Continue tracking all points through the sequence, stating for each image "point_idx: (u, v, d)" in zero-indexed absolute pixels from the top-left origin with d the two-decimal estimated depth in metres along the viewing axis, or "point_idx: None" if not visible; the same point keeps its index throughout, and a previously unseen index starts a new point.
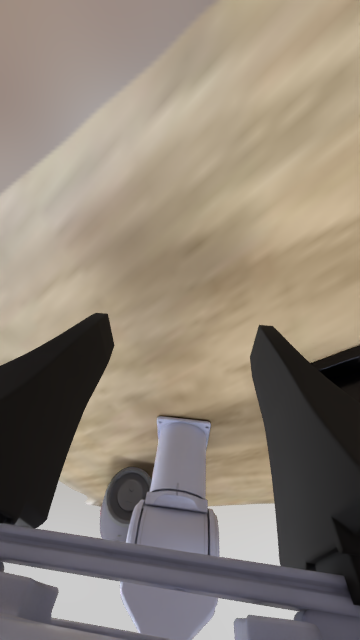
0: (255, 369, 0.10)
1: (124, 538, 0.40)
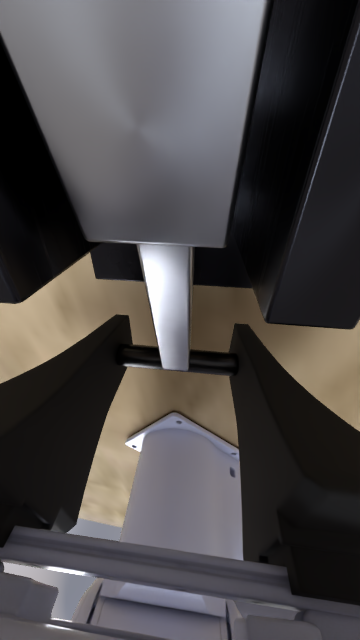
0: None
1: None
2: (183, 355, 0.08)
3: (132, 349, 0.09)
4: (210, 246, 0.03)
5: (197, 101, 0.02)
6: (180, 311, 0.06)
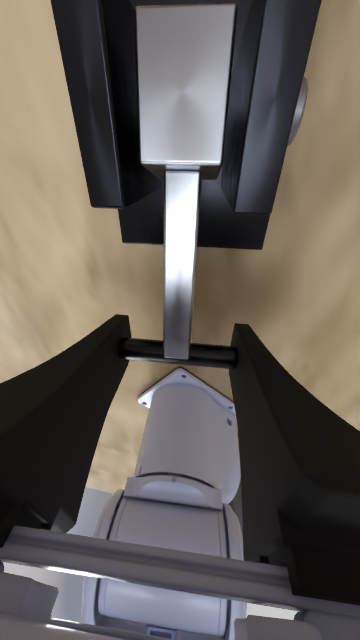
0: None
1: None
2: (186, 328, 0.09)
3: (135, 339, 0.10)
4: (212, 163, 0.06)
5: (207, 81, 0.05)
6: (187, 258, 0.07)
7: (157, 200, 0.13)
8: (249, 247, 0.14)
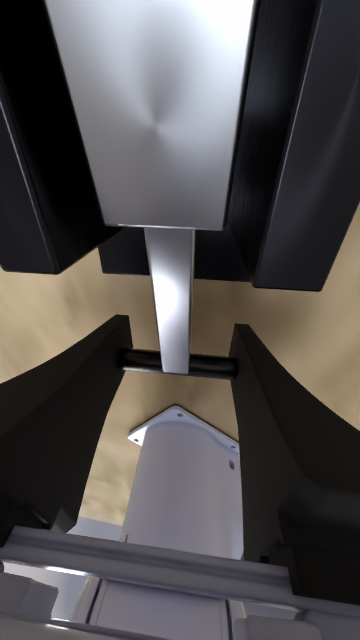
0: None
1: None
2: (183, 355, 0.08)
3: (134, 352, 0.09)
4: (210, 229, 0.04)
5: (201, 104, 0.03)
6: (181, 305, 0.06)
7: None
8: None
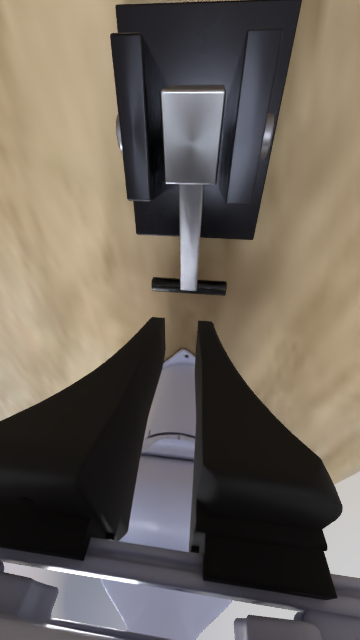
0: (195, 363, 0.10)
1: None
2: (194, 273, 0.14)
3: (161, 278, 0.15)
4: (210, 184, 0.09)
5: (207, 137, 0.08)
6: (194, 233, 0.12)
7: (166, 198, 0.16)
8: (242, 237, 0.17)
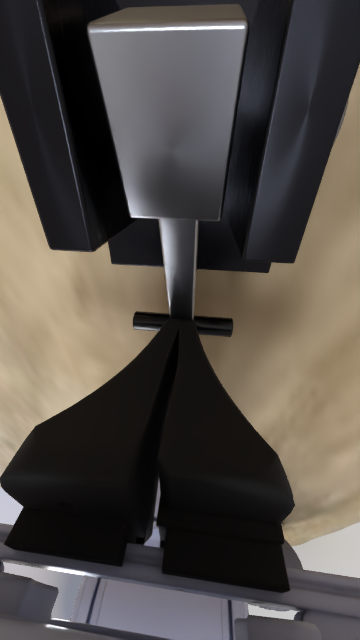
0: None
1: None
2: (188, 316, 0.10)
3: (146, 315, 0.11)
4: (210, 220, 0.05)
5: (203, 137, 0.04)
6: (187, 275, 0.08)
7: None
8: (254, 270, 0.12)
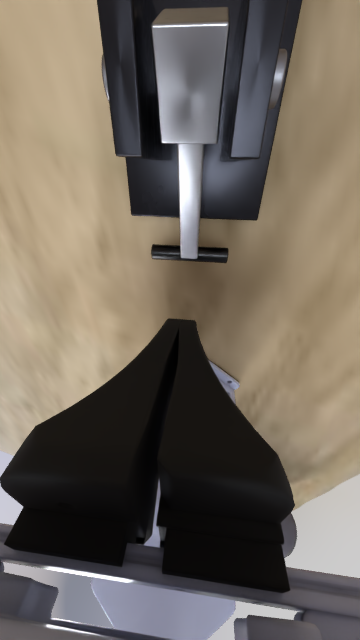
0: (178, 362, 0.10)
1: None
2: (194, 241, 0.13)
3: (161, 246, 0.14)
4: (211, 143, 0.08)
5: (207, 85, 0.07)
6: (195, 198, 0.11)
7: (163, 173, 0.14)
8: (246, 218, 0.15)
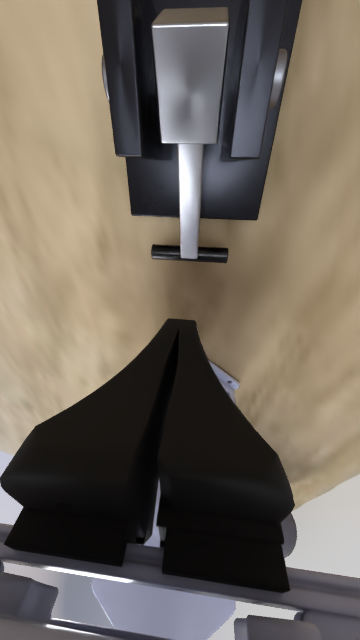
0: (178, 362, 0.10)
1: None
2: (194, 241, 0.13)
3: (161, 246, 0.14)
4: (211, 143, 0.08)
5: (207, 85, 0.07)
6: (195, 198, 0.11)
7: (163, 173, 0.14)
8: (246, 218, 0.15)
